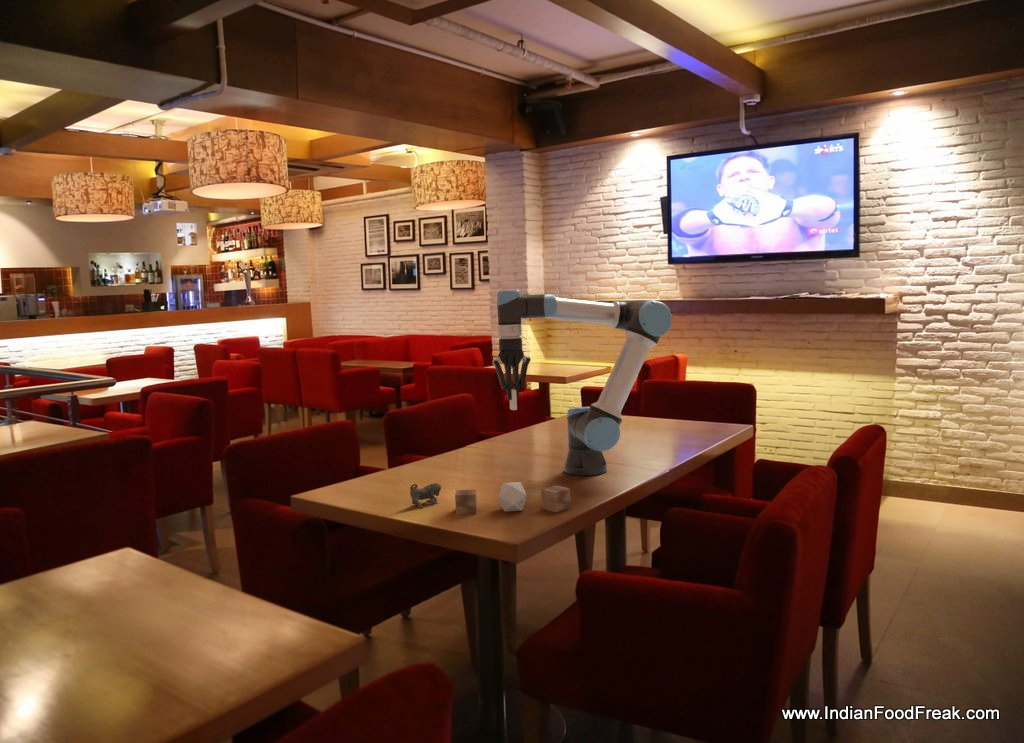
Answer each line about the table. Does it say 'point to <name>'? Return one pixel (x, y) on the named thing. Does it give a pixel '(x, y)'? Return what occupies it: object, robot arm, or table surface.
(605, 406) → the robot arm
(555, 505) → the walnut block
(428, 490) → the dog figurine
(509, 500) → the die
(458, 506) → the walnut block
